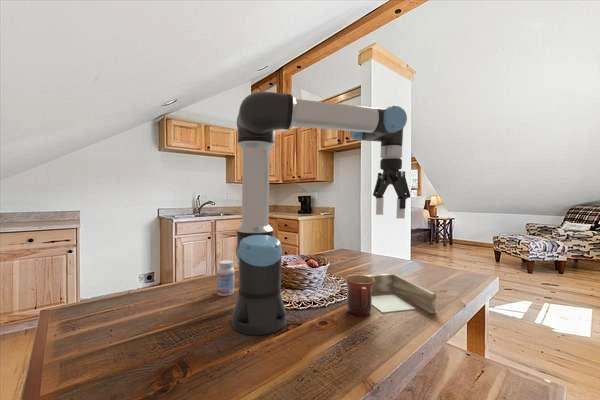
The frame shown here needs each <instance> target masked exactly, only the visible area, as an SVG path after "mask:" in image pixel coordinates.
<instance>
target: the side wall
mask: <svg viewBox="0 0 600 400" xmlns="http://www.w3.org/2000/svg"><path fill="white" fill-rule="evenodd" d="M394 274H395V273H392V272H391V273H379V274H377V273H376V274H364V275H365V276H369V277H371V278H373V279H374V280H375V281H374V284H373V287H372V293H376V292H377V293H378V292H389V291H390V292H391V291H393V275H394Z"/></svg>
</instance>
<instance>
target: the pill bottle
mask: <svg viewBox="0 0 600 400" xmlns="http://www.w3.org/2000/svg"><path fill="white" fill-rule="evenodd" d="M218 264H219V265H218V266H219V268H217V270H216V294H217V296H221V297H228V296H231V295H233V294H234V293H235V274H236V273H235V272H236V271H235V268H234V267H233V266H234V261H232V260H229V259H227V260H226V259H225V260H220V261H219V263H218Z"/></svg>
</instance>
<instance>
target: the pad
mask: <svg viewBox="0 0 600 400" xmlns="http://www.w3.org/2000/svg"><path fill="white" fill-rule="evenodd" d="M372 307H373V308H375V309H376V310H378V312H380V313H381V314H386V313H387V314H388V313H395V312H397V313H398V312H405V311H414V310H417V307H416V308H415V307H414V306H412V305H411V304H410V303H408V302H406V301H404V299H401V298H400V297H399V296H397V295H395V294H386V295H374V296H372Z"/></svg>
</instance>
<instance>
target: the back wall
mask: <svg viewBox="0 0 600 400" xmlns="http://www.w3.org/2000/svg"><path fill="white" fill-rule="evenodd" d="M393 274H394V275H393V290H392V291H393V292H395V293H397V294H398V295H400V296H402V297H403V298H405V299H406V300H408V301H410V302H412V303H413V304H415V305H416V306H418V307H420V308H422V309H423V310H425V311H427V312H428V313H430V314H436V303H437V302H436V301H437V299H436V298H437V296H436V295H437V294H436V293H435V292H433V291H432V290H429V289H427V288H425V287H423V286H421V285H419V284H417V283H415V282H413V281H412V280H410V279H407V278H405V277H403V276H401V275H399V274H397V273H393Z"/></svg>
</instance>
